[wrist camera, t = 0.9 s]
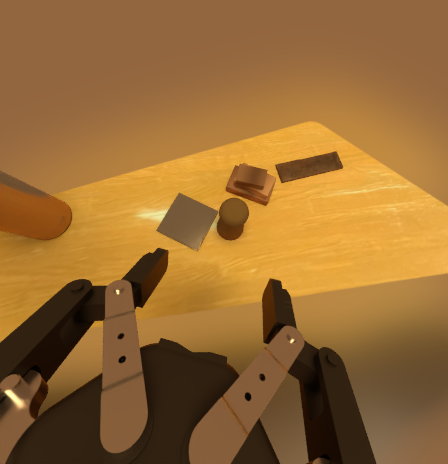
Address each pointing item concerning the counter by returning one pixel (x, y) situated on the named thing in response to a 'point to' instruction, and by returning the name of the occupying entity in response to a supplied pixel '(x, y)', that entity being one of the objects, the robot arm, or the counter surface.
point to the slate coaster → (187, 221)
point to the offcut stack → (251, 183)
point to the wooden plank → (308, 167)
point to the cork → (232, 218)
